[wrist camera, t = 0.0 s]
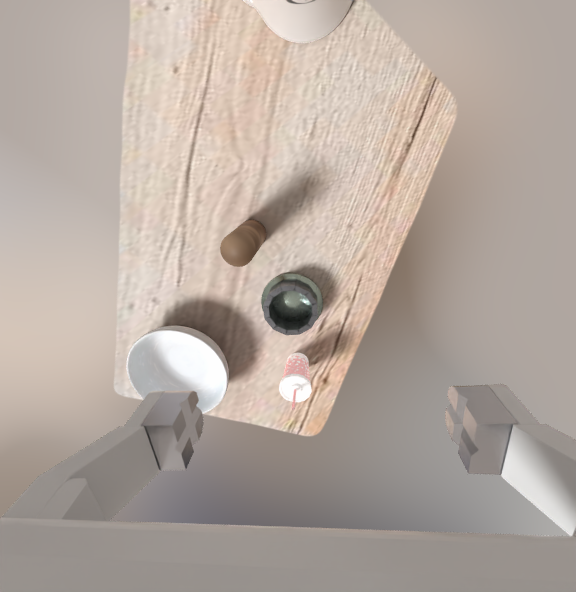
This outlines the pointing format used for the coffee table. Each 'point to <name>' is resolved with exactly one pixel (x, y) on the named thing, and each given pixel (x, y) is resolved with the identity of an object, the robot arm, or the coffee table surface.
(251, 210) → the coffee table surface
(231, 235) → the brown rounded cylinder
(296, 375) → the beverage cup
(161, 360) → the serving bowl
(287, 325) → the cup holder
